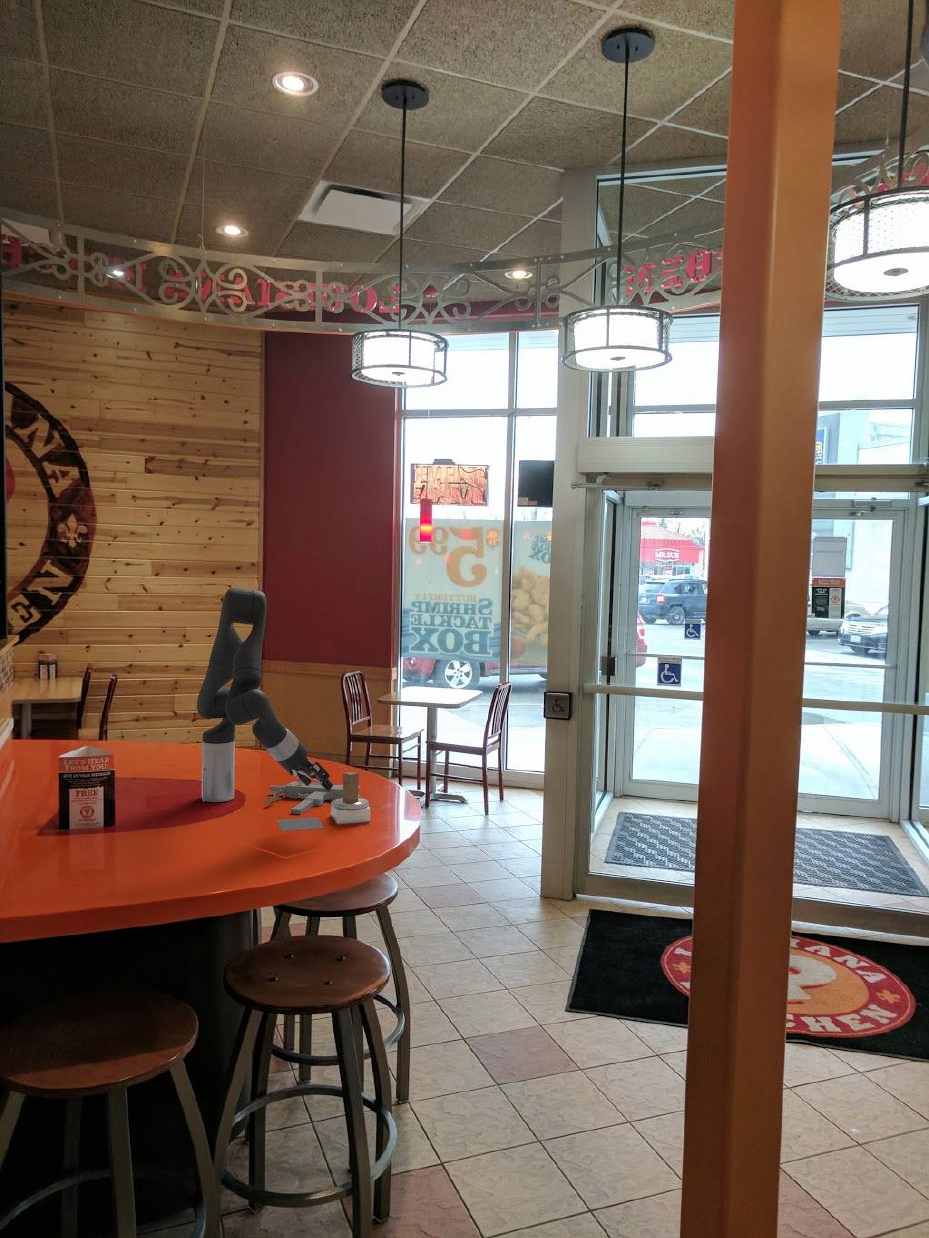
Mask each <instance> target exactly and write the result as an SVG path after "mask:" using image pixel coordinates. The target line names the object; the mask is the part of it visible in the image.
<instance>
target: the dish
mask: <svg viewBox="0 0 929 1238" xmlns="http://www.w3.org/2000/svg"><path fill="white" fill-rule="evenodd" d="M330 804H331V805H330V806H331V807H330V816H331V818H332V819H333V821H334V822H335V823H336V824H337V825H343V824H344V825H345V824H358V823H359V824H360V823H371V807H370V805H369V806H368V807H367V808H364V809H360V810H339V809H335V808H333V807H332V802H330Z"/></svg>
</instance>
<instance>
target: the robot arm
mask: <svg viewBox="0 0 929 1238" xmlns="http://www.w3.org/2000/svg"><path fill="white" fill-rule="evenodd" d="M267 604H268V603H267V596H266V595H265V592H263V591H260V590H254V589H247V588H240V587H239V588H238V587H231V588H229V589H228V590H227V591H226V592H225V594H224V597H223V600H222V605H221V611H220V616H219V622H218V628H217V632H216V635H215V639H214V642H213V645H212V649H211V652H210V656H209V661H208V666H207V670H206V673H205V677H204V678H203V679H204V680H203V681H202V685H201V687H200V690H199V692H198V695H197V700H196V701H197V702H196V709H197V710H196V711H197V714H198V716H199V717H200V718H202V719H205V720H206V719H207V720H208V719H209V720H214V719H221V721H220V722H218V724H217V725H215V726H213V727H212V728H208V729H206V730H205V731H203V733H202V738H201V739H202V748H201V749H202V753H201V755H202V762H201V763H202V765H201V800H202V802H211V803H219V802H220V803H221V802H228V801H231V800H234V799H235V763H236V762H235V754H236V753H235V751H236V750H235V748H236V745H235V742H236V741H235V740H236V739H235V738H236V737H235V736H236V726H242V725H245V724H248V723H250V722H252V721H254V720H256V721H255V722H254V723H253V726H252V735H253V736H254V737H255V739H257V741H258V742H260V743H261V745H262V746H263V747H264V748H265V750H266V751H267V752H268V754H269V755H270V756H271V757H272V758H273V759H274V760H275V761H276V762H277V763H278V764H279V765H280V767H282V769H283V770H285V771H286V772H287V773H288V774H289V775H290V776H294V777H295V778H296V779H299V780H300V782H303V783H304V784H305V785H306V786H309V785H310V783H313V781H314V780H315V782H317V783H319V784H321V785H322V786H323V787H324V789H325V790H326V791H330V790H331V788H332V787H333V785H334V784H333V782H331V780H330V779H329V778H330V776H331V774H330V773H329V772H328V771H327V770H326V769H325V768H324V767H323V766H322V765H321V764H320V762H318V761H315V762H314V763H313V762H312V760H311V759H309V758H308V750H307V748H306V747H305V746H304V744H302V742H301V741H300V740H299V739H298V738H297V737H296V736H295V734H294V733H292V731H290V730H289V729H288V728H287V727H286V726H285V725H284V723H282V721H280V719H279V718H278V717H277V713H275V711H274V709H273V706H272V704H271V701H270V699H269V697H268V695H267V694H266V693H265V692H264V691H263V690H260V689H259V688H260V687H261V685H262V680H263V679H262V677H263V674H262V652H263V643H264V638H265V628H266V617H267V606H268V605H267ZM234 624H242V625H252V628H251V630H250V633H249V635H248V636H247V637H246V638H245V639H244V640H242V638H241V636H240V635H239V633H238V632H237V630H236V628H235V627H234ZM230 681H231V684H230V686H225V685H227V684H228V683H229V682H230ZM311 774H312V775H311Z"/></svg>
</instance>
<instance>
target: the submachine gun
mask: <svg viewBox="0 0 929 1238" xmlns="http://www.w3.org/2000/svg"><path fill="white" fill-rule="evenodd" d="M360 789H361V786H360V785H359V784H358V790H360ZM269 792H274V794H273V797H272V796H270V797H269V798H268V799H267V800H266V801H265V802H266V803H265V806H266V805H269V803H272V802H273V801H274V800H276V799H277V798H280V797H281V796H282V798H283V799H284V798H286V797H289V798H288V799H297V798H301V799H300V800H301V802H299V803H298V804H297V805H296V806H294V807H292V808H290V814H291V815H292V814H294V815H295V814H296V815H302V814H303V813H305V812H306V811H309V810H310V809H311V808H313V807H321V806H323V805H324V802H326V801H325V800H330V801H329V802H332V801H334V800H336V799H340V798H343V784H333V787H332V788H331V790H330V791H326V790H325V789H324V787H323V786H322V785H321V784H320V783H319V782H317V783H316V782H311V783H310V785H309V786H306V785H305V784H304V783H303V782H302V781H292V782H289V783H288V784H286V785H271V784H270V786H269ZM358 798H361V794H359V793H358Z"/></svg>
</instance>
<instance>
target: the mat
mask: <svg viewBox="0 0 929 1238" xmlns="http://www.w3.org/2000/svg"><path fill="white" fill-rule="evenodd" d="M276 821H277V824H278V825H279V829H280V830H281V832H290V831H291V832H292V831H302V830H304V831H305V830H306V831H307V830H318V829H319V830H320V829H325V826H324V824H322V821H320V818H319V817H317V816H315V817H302V818H301V817H300V818H287V819H276Z"/></svg>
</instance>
